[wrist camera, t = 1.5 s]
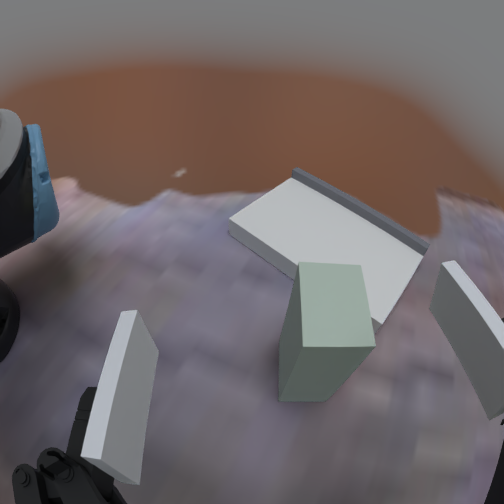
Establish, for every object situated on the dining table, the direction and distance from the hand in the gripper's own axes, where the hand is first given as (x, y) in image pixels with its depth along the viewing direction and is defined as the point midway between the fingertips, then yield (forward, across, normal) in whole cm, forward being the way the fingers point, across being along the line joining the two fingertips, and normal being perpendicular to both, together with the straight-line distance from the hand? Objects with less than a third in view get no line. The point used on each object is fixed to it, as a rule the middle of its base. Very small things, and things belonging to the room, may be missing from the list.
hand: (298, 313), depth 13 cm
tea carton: (+10, +1, -20) cm, 22 cm away
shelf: (+27, +8, -16) cm, 32 cm away
